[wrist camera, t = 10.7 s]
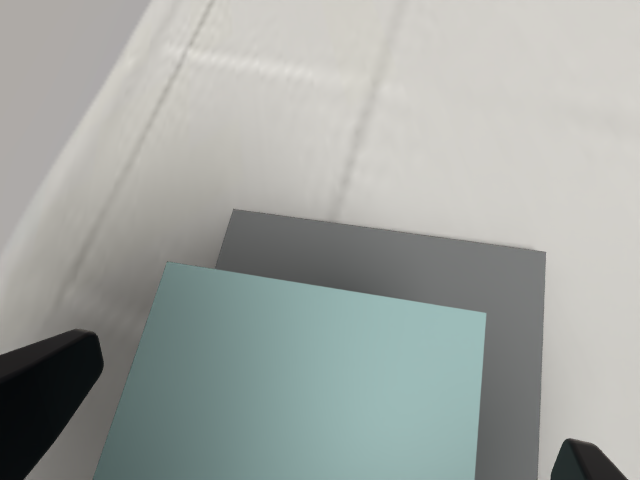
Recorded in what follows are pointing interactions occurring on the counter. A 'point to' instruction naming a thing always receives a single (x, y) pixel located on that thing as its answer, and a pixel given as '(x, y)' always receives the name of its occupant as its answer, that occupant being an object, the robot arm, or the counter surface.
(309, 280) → the mat
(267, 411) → the pale teal box
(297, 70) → the counter surface
